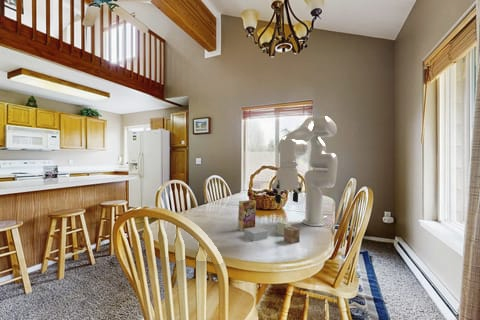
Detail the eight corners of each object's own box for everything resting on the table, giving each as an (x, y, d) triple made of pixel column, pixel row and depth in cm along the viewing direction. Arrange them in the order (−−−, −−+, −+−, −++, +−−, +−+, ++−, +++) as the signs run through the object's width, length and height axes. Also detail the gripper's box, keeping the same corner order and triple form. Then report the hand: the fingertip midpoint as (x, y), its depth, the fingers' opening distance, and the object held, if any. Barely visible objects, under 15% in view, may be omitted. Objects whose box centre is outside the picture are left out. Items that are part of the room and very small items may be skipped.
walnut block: (291, 238, 111) (292, 226, 111) (299, 242, 106) (299, 229, 106) (283, 240, 108) (284, 227, 108) (291, 244, 104) (291, 230, 104)
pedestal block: (257, 234, 117) (257, 226, 117) (267, 239, 110) (267, 230, 110) (244, 237, 113) (244, 228, 113) (253, 242, 106) (253, 233, 106)
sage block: (282, 231, 121) (282, 220, 121) (290, 233, 118) (291, 222, 118) (276, 233, 118) (277, 221, 118) (285, 236, 114) (285, 224, 114)
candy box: (242, 231, 120) (242, 202, 120) (237, 229, 124) (238, 200, 124) (255, 228, 125) (256, 200, 125) (251, 226, 129) (251, 199, 128)
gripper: (297, 165, 115) (296, 200, 115) (267, 165, 108) (266, 202, 108) (307, 166, 108) (306, 202, 108) (276, 165, 101) (275, 205, 101)
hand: (286, 202), depth 108 cm, fingers open, 9 cm apart
